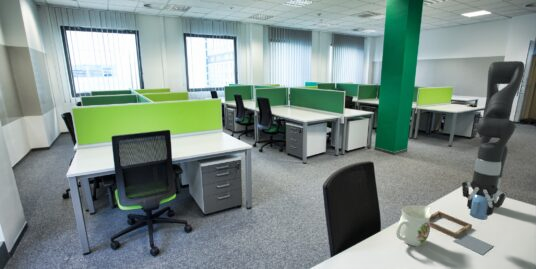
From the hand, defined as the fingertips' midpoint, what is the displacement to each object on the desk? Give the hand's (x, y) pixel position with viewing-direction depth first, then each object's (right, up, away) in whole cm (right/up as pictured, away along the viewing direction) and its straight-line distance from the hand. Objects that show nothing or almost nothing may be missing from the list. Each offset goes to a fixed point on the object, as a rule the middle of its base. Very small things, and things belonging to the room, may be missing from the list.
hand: (479, 211), depth 104 cm
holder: (-2, -11, +16) cm, 20 cm away
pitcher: (-24, -14, +5) cm, 28 cm away
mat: (0, -14, +3) cm, 14 cm away
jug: (-1, -2, 0) cm, 2 cm away
